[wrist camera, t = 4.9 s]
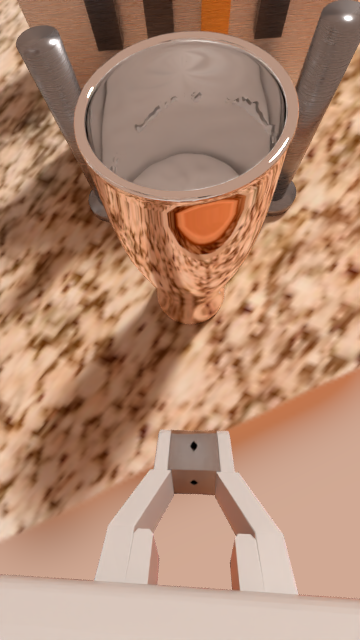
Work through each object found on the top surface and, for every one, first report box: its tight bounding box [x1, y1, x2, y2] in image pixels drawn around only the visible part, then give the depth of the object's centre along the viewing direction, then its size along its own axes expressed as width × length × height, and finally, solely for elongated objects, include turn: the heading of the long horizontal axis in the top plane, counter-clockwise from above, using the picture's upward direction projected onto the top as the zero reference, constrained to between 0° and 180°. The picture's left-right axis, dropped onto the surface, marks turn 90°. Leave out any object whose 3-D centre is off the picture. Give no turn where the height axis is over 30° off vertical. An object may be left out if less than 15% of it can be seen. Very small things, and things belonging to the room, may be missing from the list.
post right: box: [266, 0, 360, 216], centre depth 17 cm, size 4×4×12 cm
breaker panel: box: [17, 0, 358, 91], centre depth 18 cm, size 24×3×16 cm, turn 90°
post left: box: [16, 25, 110, 221], centre depth 18 cm, size 4×4×12 cm
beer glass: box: [74, 31, 299, 324], centre depth 14 cm, size 7×7×15 cm
